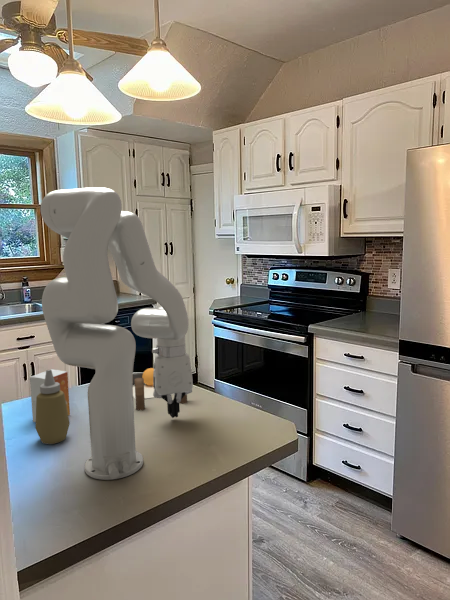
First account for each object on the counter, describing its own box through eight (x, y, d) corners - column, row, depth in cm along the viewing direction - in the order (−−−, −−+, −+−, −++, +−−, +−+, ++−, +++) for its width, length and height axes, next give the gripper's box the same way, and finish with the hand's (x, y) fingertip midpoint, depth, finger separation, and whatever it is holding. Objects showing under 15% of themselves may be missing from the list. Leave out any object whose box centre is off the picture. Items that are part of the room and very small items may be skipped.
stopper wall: (159, 381, 162) (159, 371, 161) (130, 385, 158) (130, 375, 157) (158, 379, 163) (158, 370, 163) (130, 383, 159) (129, 373, 159)
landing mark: (175, 394, 148) (175, 393, 148) (135, 400, 143) (135, 399, 143) (165, 382, 160) (165, 382, 160) (127, 387, 155) (127, 387, 155)
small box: (49, 425, 125) (46, 379, 123) (32, 422, 127) (28, 376, 126) (70, 415, 132) (68, 371, 130) (54, 411, 135) (51, 368, 133)
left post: (145, 409, 135) (144, 379, 134) (136, 410, 134) (135, 380, 133) (143, 406, 138) (142, 377, 136) (135, 407, 137) (133, 378, 135)
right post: (188, 402, 140) (187, 374, 139) (180, 404, 139) (179, 375, 138) (185, 399, 143) (184, 371, 141) (177, 401, 142) (176, 372, 140)
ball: (160, 387, 159) (162, 379, 154) (143, 390, 156) (145, 382, 152) (157, 371, 162) (159, 363, 157) (140, 374, 160) (141, 366, 155)
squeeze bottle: (43, 450, 110) (37, 377, 108) (31, 439, 116) (26, 370, 114) (75, 440, 116) (71, 370, 113) (63, 430, 122) (58, 364, 119)
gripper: (147, 357, 118) (149, 425, 120) (202, 350, 123) (204, 416, 126) (141, 350, 124) (143, 415, 127) (193, 344, 130) (195, 407, 132)
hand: (173, 415), depth 126 cm, fingers closed
